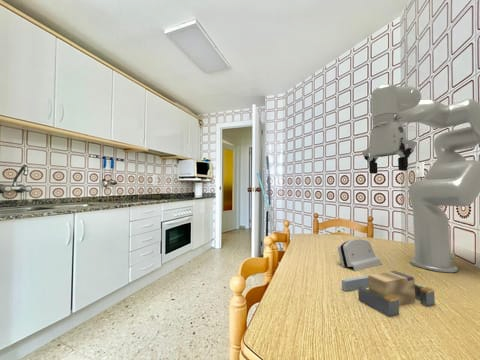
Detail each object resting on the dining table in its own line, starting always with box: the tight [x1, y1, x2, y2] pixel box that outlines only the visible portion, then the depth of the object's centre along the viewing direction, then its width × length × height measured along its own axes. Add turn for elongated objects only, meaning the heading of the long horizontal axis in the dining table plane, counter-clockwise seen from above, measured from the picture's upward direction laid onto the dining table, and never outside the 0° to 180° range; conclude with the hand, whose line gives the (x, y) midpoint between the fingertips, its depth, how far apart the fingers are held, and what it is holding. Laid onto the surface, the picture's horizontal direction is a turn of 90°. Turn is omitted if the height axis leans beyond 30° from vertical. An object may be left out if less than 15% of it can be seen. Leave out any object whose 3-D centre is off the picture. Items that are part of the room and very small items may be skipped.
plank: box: [341, 275, 369, 292], centre depth 57 cm, size 14×1×2 cm, turn 110°
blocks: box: [357, 283, 436, 318], centre depth 49 cm, size 15×7×3 cm, turn 110°
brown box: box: [367, 270, 416, 307], centre depth 49 cm, size 10×4×6 cm, turn 110°
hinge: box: [337, 238, 382, 272], centre depth 76 cm, size 17×5×10 cm, turn 119°
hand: (387, 172), depth 70 cm, fingers open, 9 cm apart
